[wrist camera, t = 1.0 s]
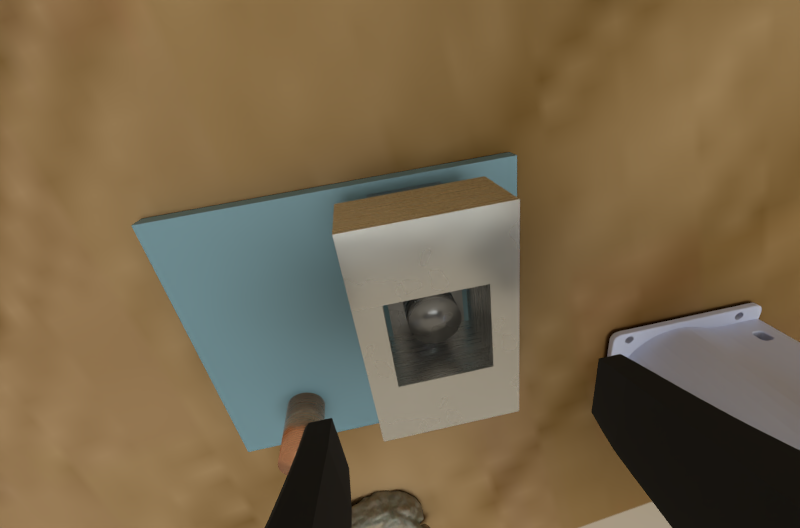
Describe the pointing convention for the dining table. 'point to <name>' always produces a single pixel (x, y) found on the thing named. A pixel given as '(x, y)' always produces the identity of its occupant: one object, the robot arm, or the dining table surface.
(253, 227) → the board
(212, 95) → the dining table surface
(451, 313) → the metal knob block
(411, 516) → the long grey stone
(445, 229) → the silver block with hole
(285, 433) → the copper cylinder peg
